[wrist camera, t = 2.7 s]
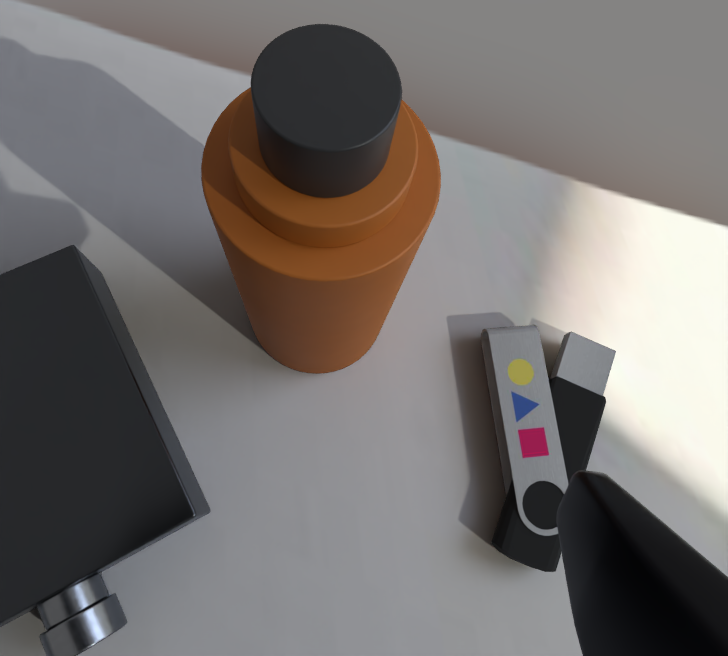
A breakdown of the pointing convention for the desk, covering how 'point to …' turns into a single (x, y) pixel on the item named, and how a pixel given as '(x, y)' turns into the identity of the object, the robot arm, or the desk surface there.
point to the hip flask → (78, 452)
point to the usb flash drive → (541, 431)
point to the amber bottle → (320, 194)
